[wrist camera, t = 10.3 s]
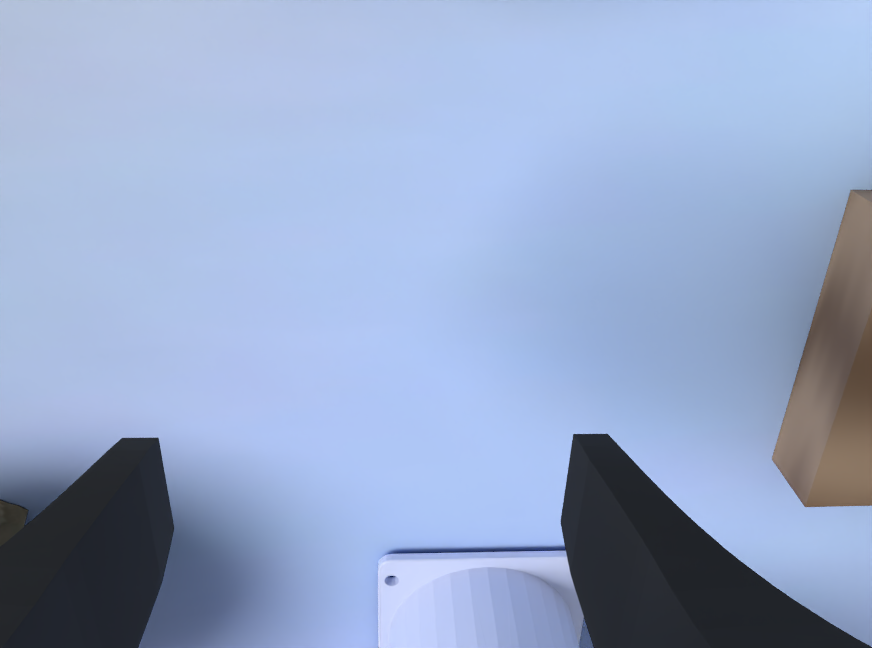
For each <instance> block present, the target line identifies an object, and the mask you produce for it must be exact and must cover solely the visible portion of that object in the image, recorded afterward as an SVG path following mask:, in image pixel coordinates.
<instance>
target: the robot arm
mask: <svg viewBox="0 0 872 648" xmlns="http://www.w3.org/2000/svg"><path fill="white" fill-rule="evenodd" d="M561 526H562V532H563V538H564V543H565V549H566V551H519V552H465V553H411V554H388V555H385V556H383V557H382V558H381V559H380V560H379V562H378V648H580V647H579V642H580V636H581V631H582V625H583V619H585V622H586V625H587V628H588V631H589V634H590V637H591V640H592V643H593V646H594V648H872V647H871V646H869V645H867V644H865V643H863V642H861V641H860V640H858V639H856V638H854V637H853V636H851V635H849V634H848V633H846V632H844V631H842V630H841V629H839V628H837V627H836V626H834V625H832V624H831V623H829V622H827V621H826V620H824V619H823V618H821V617H820V616H818V615H817V614H815V613H813V612H812V611H810V610H809V609H807V608H806V607H804V606H803V605H801V604H799V603H798V602H796V601H795V600H793V599H792V598H790V597H789V596H787V595H786V594H784V593H783V592H782V591H780V590H779V589H777V588H776V587H774V586H773V585H772V584H770V583H769V582H768V581H766V580H765V579H764V578H762V577H761V576H760V575H758V574H757V573H756V572H754V571H753V570H752V569H750V568H749V567H748V566H746V565H745V564H744V563H742V562H741V561H740V560H738V559H737V558H736V557H735V556H733V555H732V554H731V553H730V552H728V551H727V550H726V549H725V548H724V547H722V546H721V545H720V544H719V543H718V542H717V541H716V540H714V539H713V538H712V537H711V536H710V535H709V534H707V533H706V532H705V531H704V530H703V529H702V528H701V527H699V526H698V525H697V524H696V523H695V522H694V521H693V520H692V519H691V518H690V517H688V516H687V515H686V514H685V513H684V512H683V511H682V510H681V509H680V508H679V507H678V506H677V505H676V504H675V503H674V502H673V501H672V500H671V499H670V498H669V497H668V496H667V495H666V494H665V493H664V492H663V491H662V490H661V489H660V488H659V487H658V486H657V485H656V484H655V483H654V482H653V481H652V480H651V479H650V478H649V477H648V476H647V475H646V474H645V473H644V472H643V471H642V470H641V469H640V468H639V467H638V466H637V465H636V463H635V462H634V461H633V460H632V459H631V458H630V457H629V456H628V455H627V454H626V453H625V452H624V451H623V450H622V449H621V448H620V447H619V446H618V444H617V443H616V442H615V441H614V440H613V439H612V438H611V437H610V436H609V435H608V434H573V441H572V448H571V455H570V461H569V468H568V475H567V482H566V489H565V496H564V503H563V509H562V516H561ZM173 531H174V525H173V519H172V513H171V507H170V502H169V496H168V490H167V484H166V479H165V473H164V467H163V462H162V456H161V450H160V444H159V439H158V438H122V439H121V440H119V441H118V442H117V443H116V444H115V445H114V446H113V447H112V448H111V449H110V450H108V451H107V452H106V453H105V454H104V455H103V456H102V457H101V458H100V459H99V460H98V461H97V462H96V463H94V464H93V465H92V466H91V467H90V468H89V469H88V470H87V471H86V472H85V473H84V474H83V475H82V476H81V477H80V478H78V479H77V480H76V481H75V482H74V483H73V484H72V485H71V486H70V487H69V488H68V489H67V490H66V491H64V492H63V493H62V494H61V495H60V496H59V497H58V498H57V499H56V500H54V501H53V502H52V503H51V504H50V505H49V506H48V507H47V508H46V509H44V510H43V511H42V512H41V513H40V514H39V515H38V516H37V517H36V518H34V519H33V520H32V521H31V522H30V523H28V524H27V525H26V526H25V527H23V528H22V529H21V530H20V531H19V532H17V533H16V534H15V535H14V536H13V537H11V538H10V539H9V540H8V541H7V542H5V543H4V544H3V545H2V546H0V648H138V647H139V644H140V641H141V639H142V636H143V633H144V631H145V628H146V625H147V622H148V620H149V617H150V614H151V611H152V609H153V606H154V603H155V600H156V598H157V595H158V592H159V589H160V586H161V583H162V580H163V576H164V571H165V567H166V563H167V559H168V554H169V550H170V545H171V540H172V536H173ZM388 576H396V577H393V578H390V577H388Z"/></svg>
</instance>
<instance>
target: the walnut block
mask: <svg viewBox="0 0 872 648" xmlns="http://www.w3.org/2000/svg"><path fill="white" fill-rule="evenodd" d="M772 460H773V462H774V463H775V464H776V466H777V467H778V469H779V470H780V472H781V473H782V475H783V476H784V477H785V479H786V480H787V482H788V483H789V485H790V486H791V488H792V489H793V490H794V492H795V493H796V495H797V496H798V498H799V499H800V500H801V502H802V503H803V505H804V506H805V507H826V506H870V505H872V190H851V191H850V195H849V198H848V202H847V205H846V208H845V212H844V215H843V219H842V222H841V225H840V229H839V232H838V236H837V239H836V242H835V246H834V249H833V253H832V256H831V259H830V263H829V266H828V270H827V273H826V276H825V280H824V283H823V287H822V290H821V293H820V297H819V300H818V304H817V307H816V310H815V314H814V317H813V321H812V324H811V327H810V331H809V334H808V338H807V341H806V344H805V348H804V351H803V355H802V358H801V361H800V365H799V368H798V372H797V375H796V378H795V382H794V385H793V389H792V392H791V395H790V399H789V402H788V406H787V409H786V412H785V416H784V419H783V423H782V426H781V429H780V433H779V436H778V440H777V443H776V446H775V450H774V453H773V457H772Z"/></svg>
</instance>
